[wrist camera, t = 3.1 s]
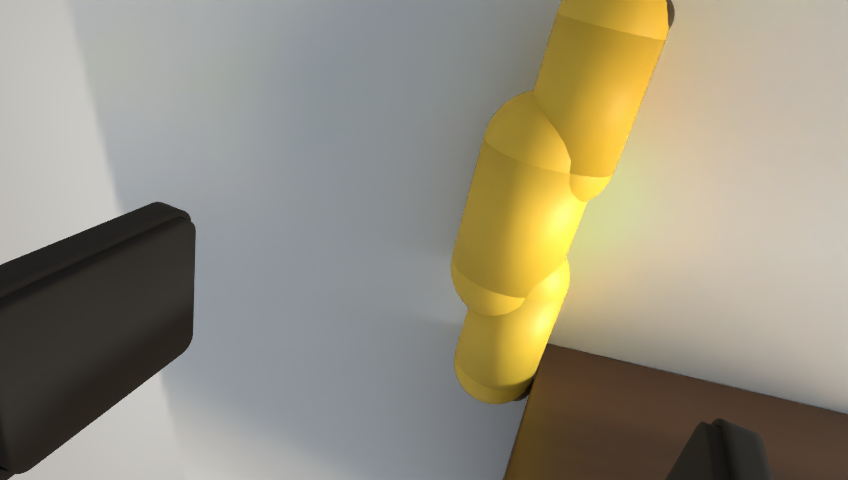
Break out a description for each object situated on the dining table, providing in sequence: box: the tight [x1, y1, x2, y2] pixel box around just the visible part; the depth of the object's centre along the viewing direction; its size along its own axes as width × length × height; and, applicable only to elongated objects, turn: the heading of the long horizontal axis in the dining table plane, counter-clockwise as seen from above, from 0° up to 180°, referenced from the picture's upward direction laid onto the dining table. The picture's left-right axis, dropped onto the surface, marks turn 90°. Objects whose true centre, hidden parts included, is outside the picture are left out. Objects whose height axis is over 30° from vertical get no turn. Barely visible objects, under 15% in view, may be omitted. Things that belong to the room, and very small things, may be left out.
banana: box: [451, 0, 674, 404], centre depth 17 cm, size 14×4×3 cm, turn 167°
